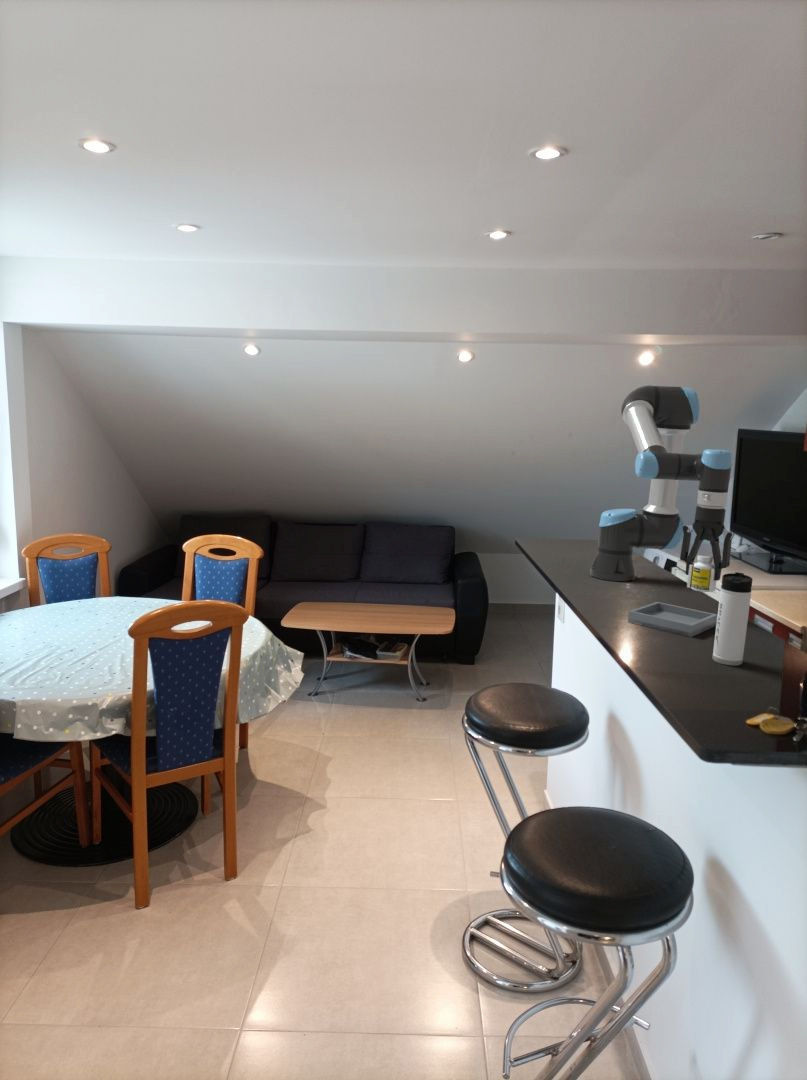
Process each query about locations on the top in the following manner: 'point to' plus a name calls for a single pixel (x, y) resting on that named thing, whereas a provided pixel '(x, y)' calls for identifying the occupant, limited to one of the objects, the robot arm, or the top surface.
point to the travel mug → (732, 619)
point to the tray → (673, 618)
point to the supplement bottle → (702, 573)
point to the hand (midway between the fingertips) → (700, 588)
